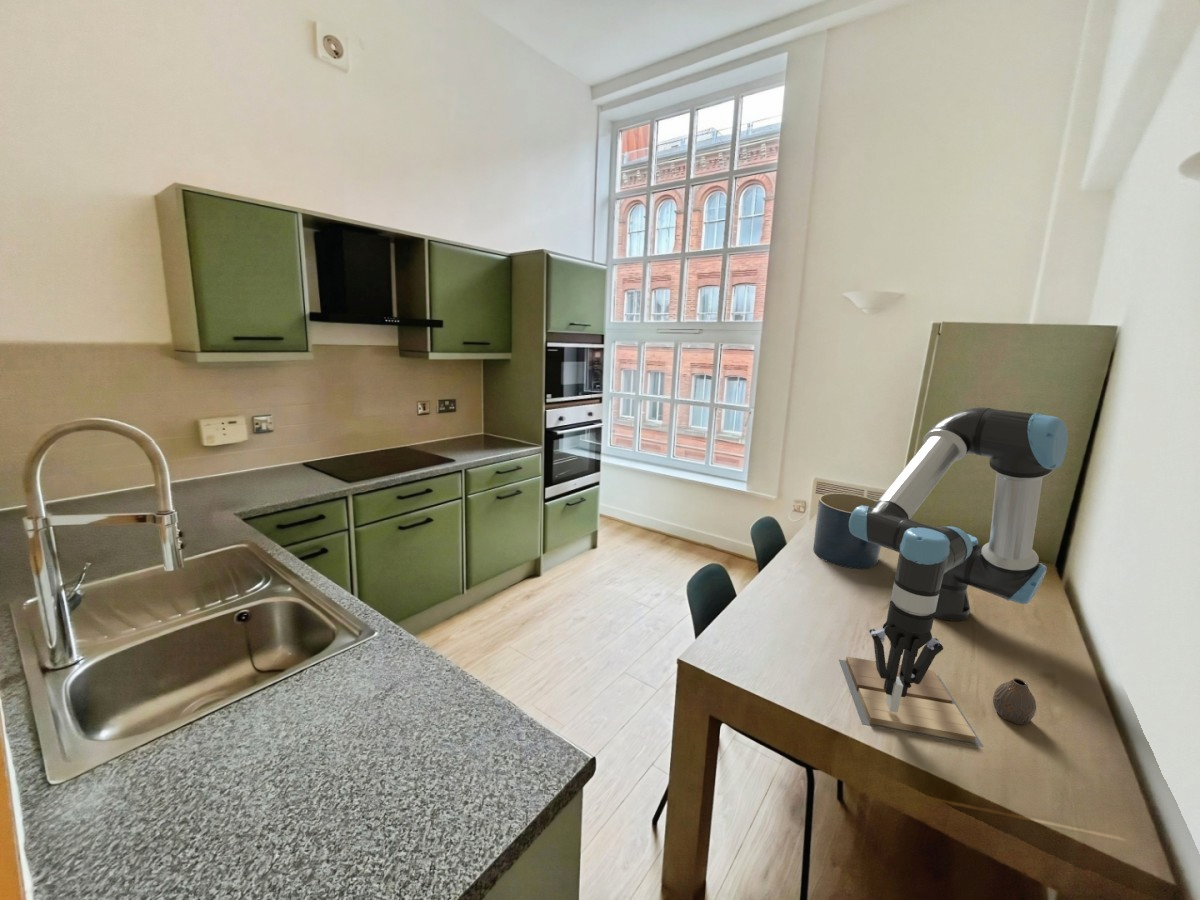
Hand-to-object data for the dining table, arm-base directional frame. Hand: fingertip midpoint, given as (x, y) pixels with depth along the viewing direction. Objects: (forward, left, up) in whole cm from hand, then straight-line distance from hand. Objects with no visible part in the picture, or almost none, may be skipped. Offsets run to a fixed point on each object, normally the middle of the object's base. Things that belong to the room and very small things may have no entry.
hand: (891, 707), depth 102 cm
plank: (-5, -2, -3) cm, 6 cm away
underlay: (-5, -8, -3) cm, 10 cm away
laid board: (-5, -13, -3) cm, 14 cm away
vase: (-26, -8, -4) cm, 28 cm away
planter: (-10, -83, -4) cm, 84 cm away
